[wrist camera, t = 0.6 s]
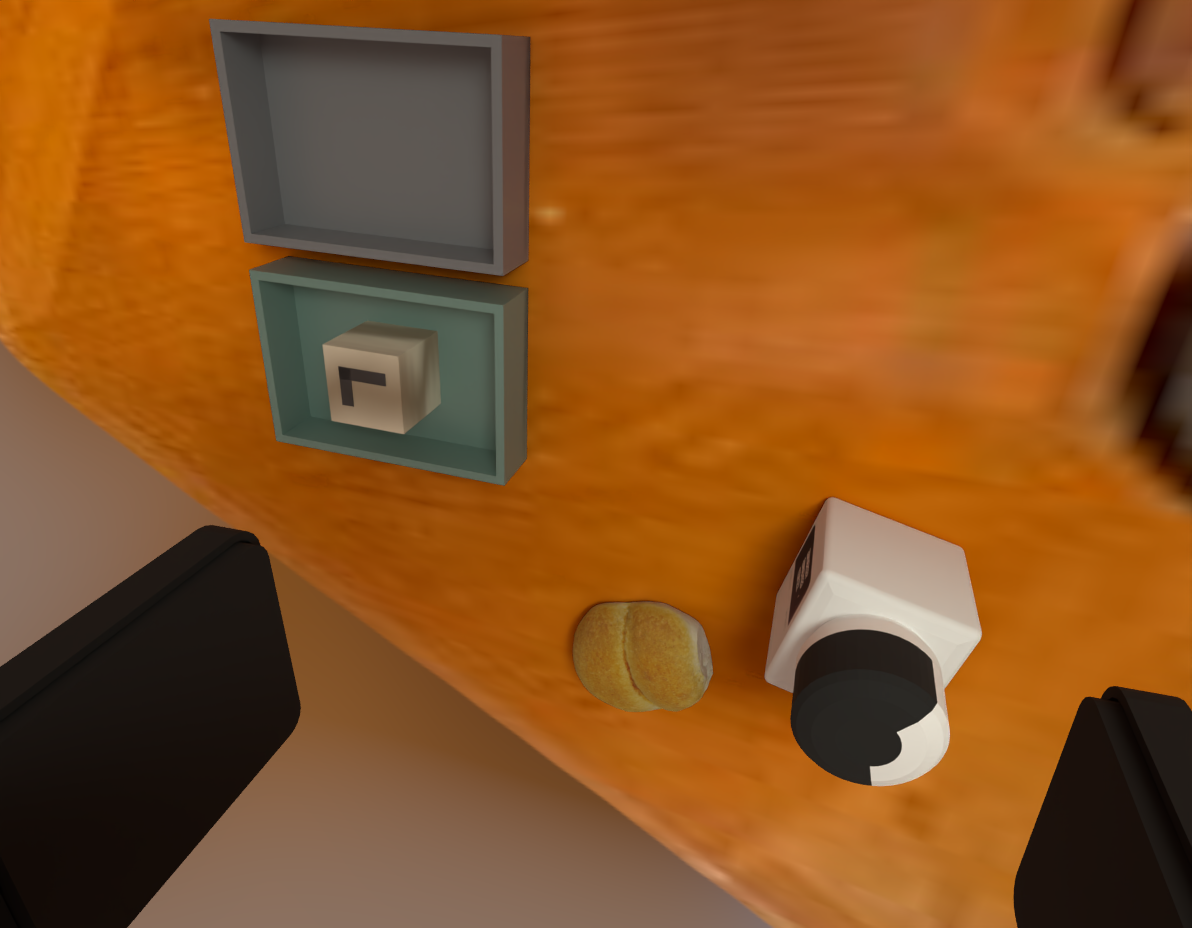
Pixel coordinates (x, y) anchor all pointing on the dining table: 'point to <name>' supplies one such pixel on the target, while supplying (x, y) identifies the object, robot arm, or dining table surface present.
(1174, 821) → the robot arm
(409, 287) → the green-grey bin
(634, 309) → the dining table surface
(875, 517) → the container
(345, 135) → the charcoal bin
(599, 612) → the bread roll
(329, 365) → the letter cube
